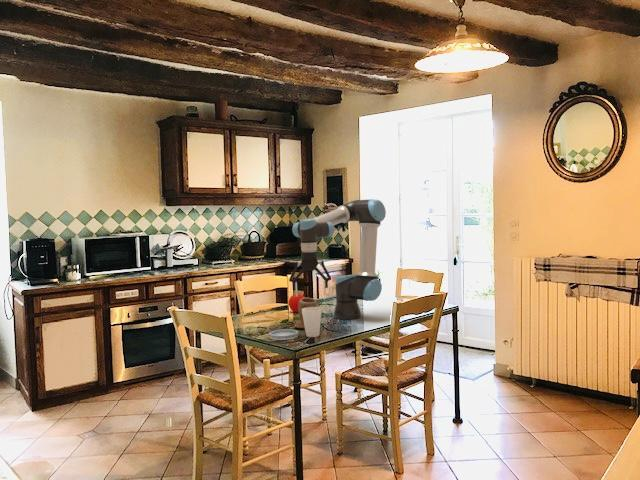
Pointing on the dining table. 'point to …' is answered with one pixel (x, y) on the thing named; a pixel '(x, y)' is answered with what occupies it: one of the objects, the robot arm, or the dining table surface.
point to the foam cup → (312, 320)
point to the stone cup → (302, 304)
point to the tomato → (295, 302)
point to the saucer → (283, 334)
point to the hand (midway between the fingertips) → (310, 295)
